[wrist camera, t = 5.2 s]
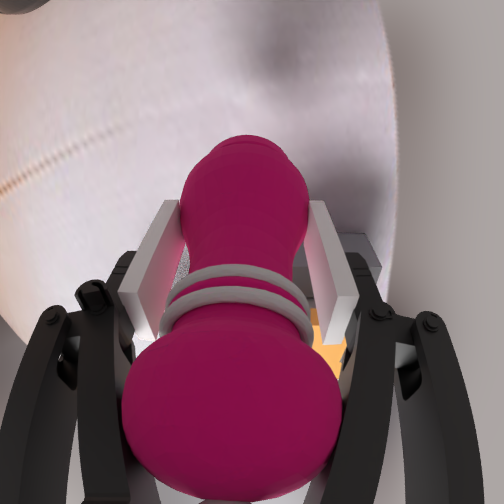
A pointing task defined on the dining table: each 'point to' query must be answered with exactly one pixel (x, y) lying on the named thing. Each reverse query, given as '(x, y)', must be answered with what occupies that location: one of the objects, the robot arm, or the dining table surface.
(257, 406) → the pepper mill
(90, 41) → the dining table surface
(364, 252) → the breaker box
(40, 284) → the dining table surface
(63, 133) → the dining table surface
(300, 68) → the dining table surface
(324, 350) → the button
